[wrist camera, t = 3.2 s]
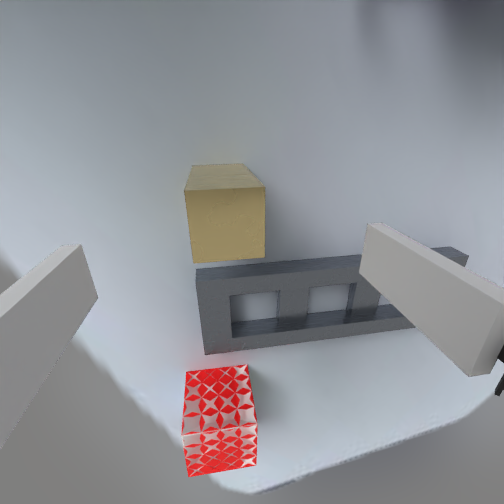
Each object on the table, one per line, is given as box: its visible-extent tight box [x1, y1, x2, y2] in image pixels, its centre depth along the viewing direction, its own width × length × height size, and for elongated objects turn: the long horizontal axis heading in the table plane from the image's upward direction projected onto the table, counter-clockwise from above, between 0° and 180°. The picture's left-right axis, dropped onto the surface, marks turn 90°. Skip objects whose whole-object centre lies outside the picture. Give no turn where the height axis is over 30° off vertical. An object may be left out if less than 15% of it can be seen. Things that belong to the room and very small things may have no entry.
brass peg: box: [184, 164, 265, 263], centre depth 20 cm, size 4×4×10 cm
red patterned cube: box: [181, 365, 258, 477], centre depth 33 cm, size 8×8×8 cm
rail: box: [196, 247, 469, 355], centre depth 31 cm, size 30×10×2 cm, turn 91°
